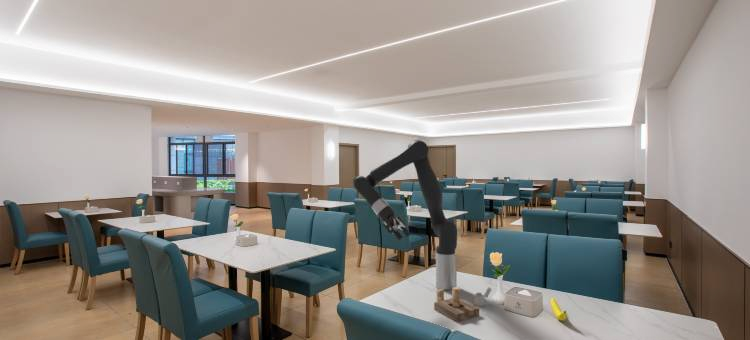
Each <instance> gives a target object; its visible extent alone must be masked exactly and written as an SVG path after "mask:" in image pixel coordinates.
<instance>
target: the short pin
mask: <svg viewBox="0 0 750 340" xmlns="http://www.w3.org/2000/svg"><path fill="white" fill-rule="evenodd" d="M443 300H445V290H443V289H438V288H437V289H436V302H438V301H443Z"/></svg>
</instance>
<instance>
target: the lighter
mask: <svg viewBox="0 0 750 340" xmlns="http://www.w3.org/2000/svg"><path fill="white" fill-rule="evenodd" d="M491 292H492V288H491V287H488V288H487V289H486V291H485V293H484V294H482V292H475V294H474V297H473V298H474V301H473V302H474V303H473V304H474V305H473V306H476V307H477V306H478V307H485V298H486V299H487V298H488V297H489V295H490V294H491Z"/></svg>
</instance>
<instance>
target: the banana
mask: <svg viewBox="0 0 750 340" xmlns="http://www.w3.org/2000/svg"><path fill="white" fill-rule="evenodd" d="M550 304H551V308H552V311H553V313H554V315H555V317H556V319H557V320H559V321H565V320H566V319H567V317H568V314H567V311H566V310H564V311H562V309H561V308H560V305H559V304H558V302H557V300H556V299H555V298H554V296H552V297H551V303H550Z"/></svg>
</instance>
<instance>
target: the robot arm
mask: <svg viewBox="0 0 750 340" xmlns="http://www.w3.org/2000/svg"><path fill="white" fill-rule="evenodd" d="M428 154H429V147H428V144H427V143H426V142H424V141H423V140H421V139H412V140H411V141H410V142H409V144H408V145H407V148H406V149H405V150H404V151H402V152H401V153H400V154H399V155H397V156H394V157H393V158H391V159H388V160H386V161H383V162H382V163H381V164H379V165H377V166H376V167H374V168H373V169H371V170H370V173H369V174H367V175H366V176H363V175H359V176H356V177H355V178H354V179H353V187H354V188H355V190H356V191H357V192H358V193H359V194H360V196H361V197H363V198H364V200H365V201H366V202H367V204H368V205H369V207H371V209H372V210H373V212H374V213H375V215H376V216H377V217H378V219H380V221H381V222H382V225H383V226H384V228H385V230H387V232H388V233H389V234H390V235H391V234H392V235H394V236H395V237H396V239H397V240H398V241H401V240H402V239H403V237H404V236H403V235H402V233H400V232H399V230H401V232H403V234H404V235H405V236H406V237H407V238H408V237H409V236H411V232H410V231H409V230H408V229H407V226H408V224H407V223H406V222H405V220H403V219H402V217H400V216H399V215H398V216H397V217H396V216H395V214H396V211H395V210H394V209H393V207H392V206H391V205H390V204H389V203H388V202H387V200H386V199H385V198H383V196H382V195H381V194H380V193H379V192H378V191H377V190H376V189H375V188H374V187H376V186H377V185H378V184H379V183H380V182H382V181H384V180H385V179H387V178H389V177H390V176H392V175H393V174H395V173H397V172H398V171H400V170H401V169H404V168H405V167H407V166H409V165H410V164H413V165H414V168H415V171H416V175H417V179H418V183H419V187H420V190H421V194H422V197H423V199H424V202H425V204H426V207H427V210H428V213H429V217H430V222H431V226H432V229H433V230H432V231H433V232H434V234H435V236H436V237H438V238H439V245H437V246H436V247H435V287H436V288H437V289H443V290H444V291H450V290H451V291H452V288H454V287H457V285H458V284H457V281H458V280H457V276H458V275H457V267H456V249H457V247H458V228H457V225H456V224H455V223H454V222H453V221H450V220H447V218H446V215H445V213H444V210H443V192H442V189H441V185H440V183H439V181H438V177H437V176H436V173H435V172H434V169H433V168H432V166H431V163H430V161H429V156H428ZM457 288H458V287H457Z"/></svg>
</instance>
